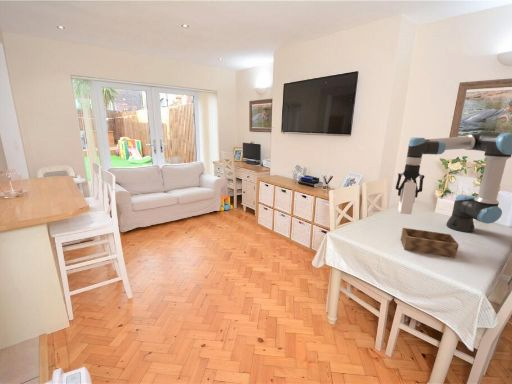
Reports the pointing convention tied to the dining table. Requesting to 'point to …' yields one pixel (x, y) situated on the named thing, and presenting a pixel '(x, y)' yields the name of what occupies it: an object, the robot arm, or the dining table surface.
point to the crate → (429, 242)
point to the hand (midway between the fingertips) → (406, 201)
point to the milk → (407, 197)
